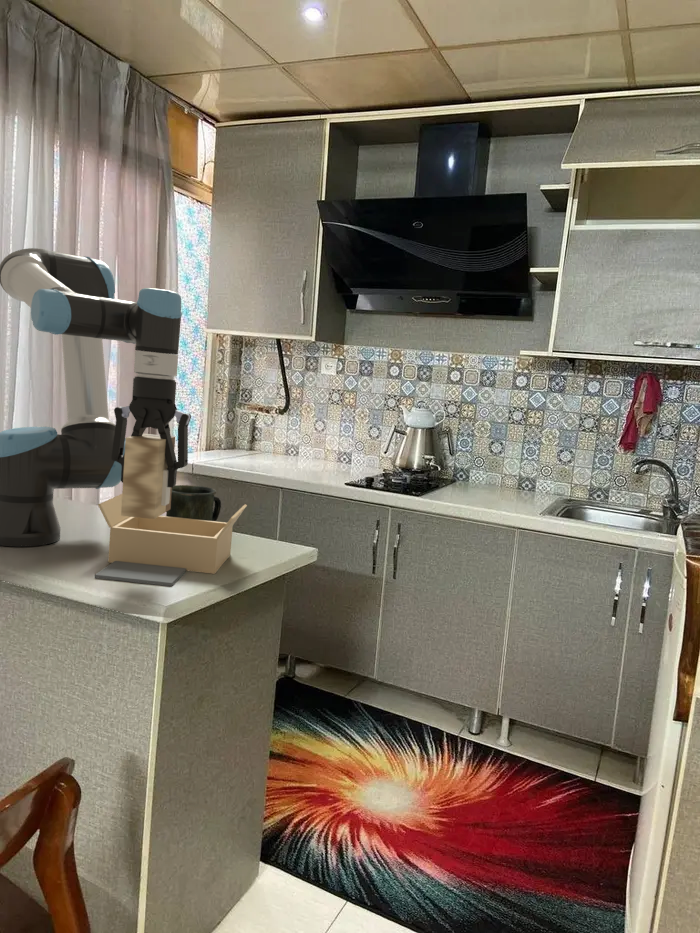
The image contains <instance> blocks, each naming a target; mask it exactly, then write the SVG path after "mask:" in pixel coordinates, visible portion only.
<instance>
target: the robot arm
mask: <svg viewBox="0 0 700 933" xmlns="http://www.w3.org/2000/svg"><path fill="white" fill-rule="evenodd" d="M0 286H1V287H2V289H3V290H4V292H5V293H6V294H8V296H10V297H11V298H13V299H14V300H17V301H18V302H24V303H25V304H26V305H27V306H28V307H29V308H30V317H31V318H30V319H31V321H32V326H33V328H34V329H35V330H37V331H38V332H43V333H50V334H52V335H57V336H58V335H61V339H62V353H63V354H62V355H63V370H64V382H65V383H64V384H65V396H66V398H65V399H66V412H67V421H66V423H65V424H64V425H62V427H61V428H60V429H61V430H60V431H61V434H58V432H57V429H56V428H54V427H53V426H51V427H50V426H25V427H24V426H23V427H15V428H9V429H5V430H2V431H0V546H3V547H6V546H7V547H37V546H43V545H44V546H45V545H50V544H52V543H56V542H58V541H60V540H61V526H60V525H61V524H60V522H59V518H58V516H57V512H56V509H55V505H54V492H55V490H57V489H67V490H68V489H96V490H99V489H105V488H114V487H117V485H119V484H120V483H122V484H123V474H124V457H125V441H126V435H127V425H128V418H129V417H130V413H131V414H132V416H133V418H134V420H135V423H134V425H133V427H132V433H131V435H130V437H131V436H137V437H138V436H142V435H143V434H144V433H145V431H146V429H147V428H152V429H155V430H157V432H158V435H160V438H161V439H166V444H165V458H166V463H167V467H168V468H167V469H165V470H163V485H162V500H161V505H162V506H166V505H167V504H169V501H170V487H172V488H173V487H175V485H177V474H178V470H179V469H183V468H184V467H187V466H188V464H189V462H188V461H189V460H188V458H189V451H188V450H189V448H188V447H189V443H188V442H189V425H190V422H191V419H192V415H191V414H190V413H188V412H187V413H185V412H183V411H181V410H178V407H177V406H176V394H177V392H176V391H177V381H176V379H174V378H175V377H177V376H178V362H179V361H178V360H179V348H180V347H179V346H180V336H181V335H180V333H181V324H182V323H181V322H182V321H181V320H182V316H183V312H182V297H181V295H180V293H178V292H176V291H172V290H168V289H160V288H151V287H147V288H142V289H140V290H139V292H138V298H137V301H135V302H134V301H128V300H122V299H115V294H116V284H115V280H114V275H113V273H112V270H111V268H110V267H109V265H108V264H106V262H104V261H102V260H99V259H95V258H92V257H91V256H86V255H85V256H84V255H83V256H80V255H74V254H69V253H65V252H64V253H63V252H60V251H59V252H58V251H53V250H48V249H43V248H35V247H32V248H31V247H29V248H22V249H18V250H15V251H13V252H11V253H9V254H8V255H6V256H5V257H4V258H3V259H2V261H1V262H0ZM103 340H109V341H117V342H118V341H119V342H124V343H127V344H135V347H134V348H135V350H134V364H133V365H134V366H133V367H134V369H133V371H134V372H133V373H135V374H137V375H136V376H134V377H133V381H132V382H133V383H132V399H131V402H130V403H129V405H125V406H117V407H115V408H114V409H113V410H114V411H113V412H114V416H115V423H113V422H112V421H111V420H110V416H109V408H108V393H107V380H106V370H105V369H106V368H105V366H106V365H105V358H104V356H105V355H104V342H103ZM174 417H175V418H176V420H175V421H176V423H177V424H178V425H177V456H176V452H175V449H174V447H173V443H172V439H171V436H172V435H171V427H170V422H171V421H172V419H174Z"/></svg>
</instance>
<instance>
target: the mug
mask: <svg viewBox="0 0 700 933" xmlns="http://www.w3.org/2000/svg"><path fill="white" fill-rule="evenodd" d="M216 494H217V490H216V489H215V488H212V487H208V486H203V485H192V484H191V485H190V484H176V485H175V487H173V488H172V493H171V508H170V510H168V511H167V512H165V514H166V515H165V516H169V517H178V518H188V519H197V520H206V521H216V522H217V521H218V519H219V515H220V513H221V508H222V501H221V498H220V497H218V496H215V495H216Z"/></svg>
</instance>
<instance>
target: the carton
mask: <svg viewBox="0 0 700 933" xmlns="http://www.w3.org/2000/svg"><path fill="white" fill-rule="evenodd" d="M97 505H98V507H99V510H100V512H101V514H102V516H103V518H104V520H105V522H106V524H107V526H108V528H110V529H109V541H108V542H109V545H108V561H107V562H108V563H109V564H111V563H113V562H114V561H122V562H131V563H140V564H150V565H159V566H168V567H178V568H186V572H195V573H205V574H212V575H215V574H216V573H217V572H218V571H219V569H220V568H221V567H222V566H223V565H224V563H225V562H226V561H227V559H229V557H230V556H231V553H232V552H231V551H232V537H233V526H234V525H235V523H236V522H237V521H238V519H239V517H240V516H241V515H242V513H243V512H244V510H245V509H246V508H247V506H248V505H247V504H245V503H244V505H242V506H241V507H240V508H239V509H238V510H237V511H236V512H235V513H234V514H233V515H232V516H231V517H230V518H229V519H228V521H227V522H225V521H217V520H216V521H206V520H197V519H188V518H178V517H169V516H166V515H160V516H159V517H157V518H155V519H148V518H138V517H129V516H121V507H122V493H120V494H119V495H115V496H114V497H111V498H110V499H107V500H105V501H103V502H100V503H98V504H97Z"/></svg>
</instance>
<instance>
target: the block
mask: <svg viewBox="0 0 700 933" xmlns="http://www.w3.org/2000/svg"><path fill="white" fill-rule="evenodd" d="M125 438H126V441H125V457H124V474H123V483H122V490H121V492H122V493H121V494H122V507H121V516H129V517H138V518H148V519H155V518H157V517H159V516H163V514H166V512H167V511H168V510H170V508H171V493H172V487H170V501H169V504H167V505H166V506H162V505H161V500H162V485H163V470H165V469H167V468H168V467H167V463H166V458H165V444H166V439H161V438H160V434H152V433H151V434H150V433H143V435H142V436H138V437H137V436H131V435H130V436H127V437H126V436H125ZM171 439H172V443H173V447H174V450H175V447H176V436H175V435H174V436H172V435H171Z"/></svg>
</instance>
